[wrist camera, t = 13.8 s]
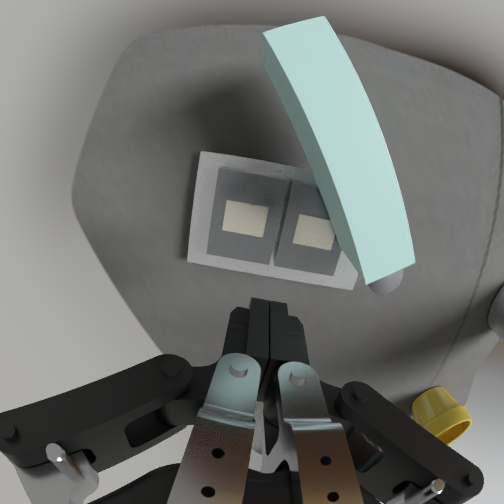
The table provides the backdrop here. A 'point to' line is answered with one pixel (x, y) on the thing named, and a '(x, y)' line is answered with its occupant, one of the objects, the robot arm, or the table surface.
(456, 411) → the plant pot
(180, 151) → the table surface
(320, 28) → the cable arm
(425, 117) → the table surface
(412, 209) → the table surface
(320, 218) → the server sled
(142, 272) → the table surface
